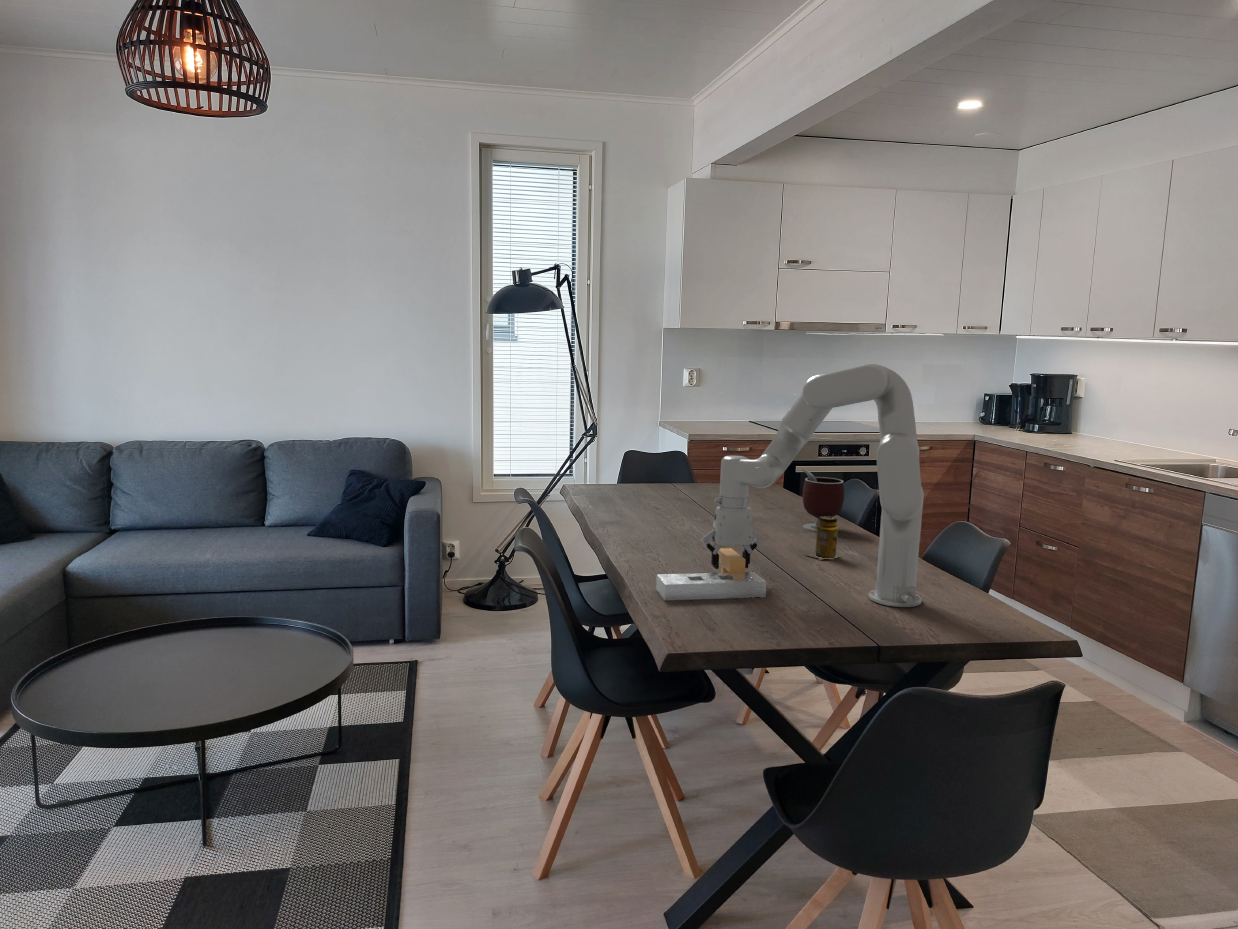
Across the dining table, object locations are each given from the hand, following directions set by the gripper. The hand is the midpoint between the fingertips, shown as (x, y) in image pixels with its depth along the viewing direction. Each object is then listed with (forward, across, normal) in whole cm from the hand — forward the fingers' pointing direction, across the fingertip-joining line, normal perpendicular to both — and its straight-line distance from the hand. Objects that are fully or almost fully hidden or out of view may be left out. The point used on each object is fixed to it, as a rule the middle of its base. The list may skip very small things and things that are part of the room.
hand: (730, 566), depth 227 cm
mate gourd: (+4, +51, +58) cm, 77 cm away
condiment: (+4, +36, +21) cm, 42 cm away
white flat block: (+3, -9, -12) cm, 15 cm away
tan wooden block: (+3, 0, 0) cm, 3 cm away
